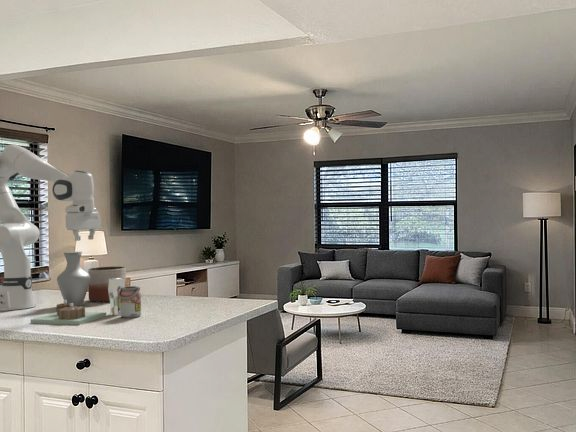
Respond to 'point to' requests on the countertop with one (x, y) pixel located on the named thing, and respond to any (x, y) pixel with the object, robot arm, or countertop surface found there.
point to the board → (69, 316)
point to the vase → (73, 280)
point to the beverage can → (130, 301)
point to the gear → (62, 306)
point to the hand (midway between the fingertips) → (84, 240)
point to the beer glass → (115, 294)
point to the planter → (103, 281)
